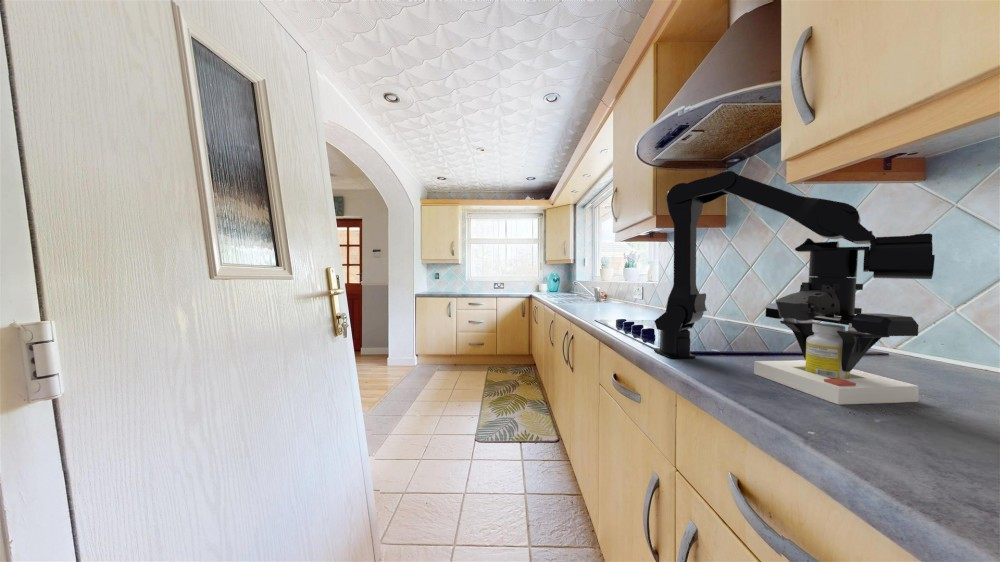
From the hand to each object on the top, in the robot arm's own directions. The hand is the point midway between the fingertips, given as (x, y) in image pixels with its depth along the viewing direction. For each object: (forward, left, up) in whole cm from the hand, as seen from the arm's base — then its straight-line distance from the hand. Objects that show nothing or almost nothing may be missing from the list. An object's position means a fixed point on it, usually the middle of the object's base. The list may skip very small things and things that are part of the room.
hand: (826, 366), depth 55 cm
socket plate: (0, 0, -4) cm, 4 cm away
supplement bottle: (0, 0, -3) cm, 3 cm away
